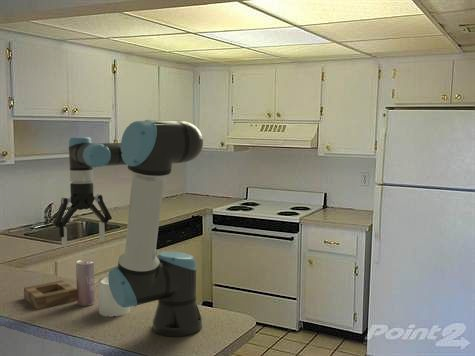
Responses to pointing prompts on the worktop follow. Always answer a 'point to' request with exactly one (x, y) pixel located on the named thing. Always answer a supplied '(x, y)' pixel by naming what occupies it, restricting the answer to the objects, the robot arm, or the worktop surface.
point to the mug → (109, 301)
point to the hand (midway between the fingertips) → (83, 243)
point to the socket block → (50, 294)
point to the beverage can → (85, 282)
